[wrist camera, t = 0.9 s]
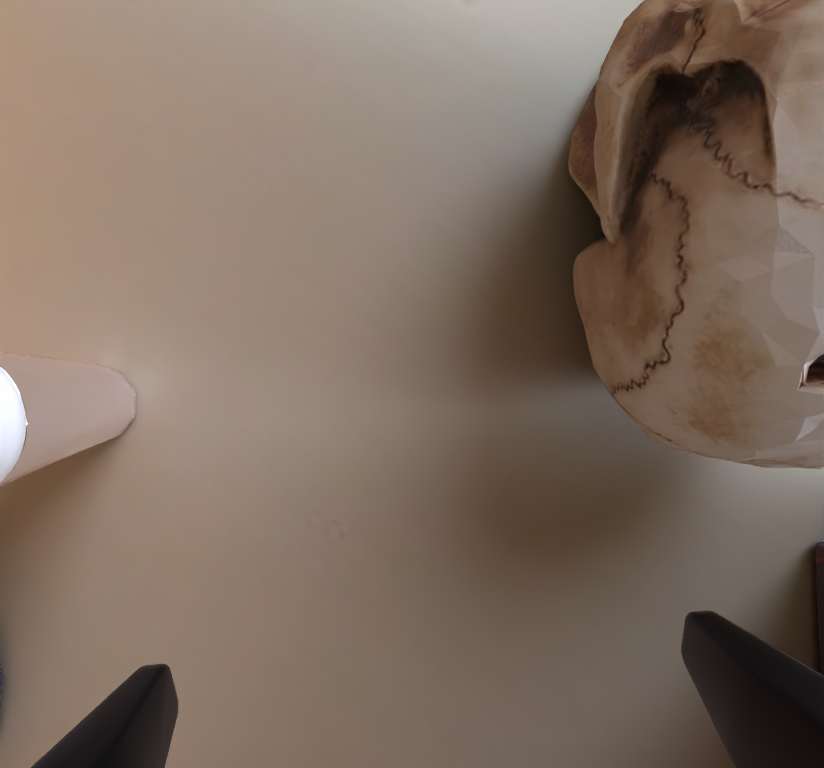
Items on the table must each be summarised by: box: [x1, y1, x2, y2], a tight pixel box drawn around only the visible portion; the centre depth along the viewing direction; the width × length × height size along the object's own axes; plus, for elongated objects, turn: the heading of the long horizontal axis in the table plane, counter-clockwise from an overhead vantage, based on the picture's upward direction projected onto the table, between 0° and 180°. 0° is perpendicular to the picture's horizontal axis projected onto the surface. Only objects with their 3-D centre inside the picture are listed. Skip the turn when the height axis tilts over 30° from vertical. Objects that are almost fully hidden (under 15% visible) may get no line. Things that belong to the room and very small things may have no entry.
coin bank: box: [568, 0, 824, 469], centre depth 17 cm, size 16×17×13 cm
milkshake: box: [0, 351, 136, 487], centre depth 17 cm, size 5×5×10 cm
